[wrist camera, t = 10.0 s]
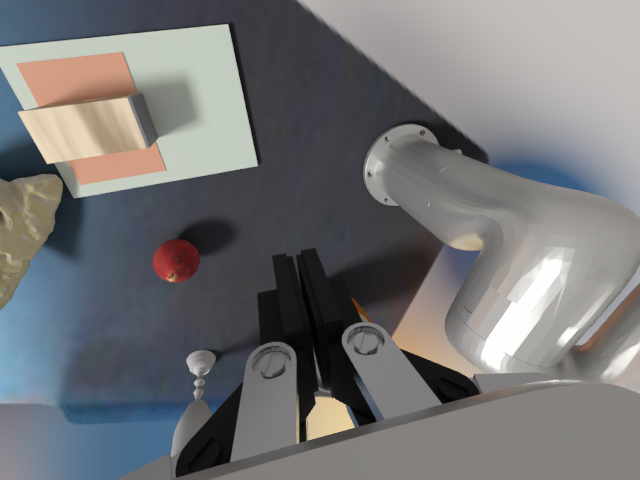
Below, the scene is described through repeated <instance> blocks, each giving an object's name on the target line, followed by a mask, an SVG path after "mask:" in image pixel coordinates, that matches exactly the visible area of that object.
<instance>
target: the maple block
mask: <svg viewBox="0 0 640 480" xmlns="http://www.w3.org/2000/svg"><path fill="white" fill-rule="evenodd" d="M18 114H19V116H20V117H21V119H22V121H23V123H24V124H25V126H26V128H27V130H28V131H29V133H30V135H31V137H32V138H33V140H34V142H35V144H36V145H37V147H38V149H39V151H40V152H41V154H42V156H43V158H44V159H45V161H46V163H47V164H50V163H56V162H63V161H69V160H75V159H82V158H88V157H94V156H101V155H107V154H113V153H119V152H126V151H132V150H138V149H145V148H150V147H151V146H152V145H153V144H154V142H155V141H156V140H157V139H158V135H157V133H156V130H155V127H154V124H153V122H152V119H151V116H150V113H149V111H148V108H147V105H146V102H145V100H144V97H143V94H142V93H137V94H129V95H122V96H114V97H106V98H99V99H91V100H83V101H76V102H68V103H60V104H53V105H45V106H40V107H36V108H32V109H28V110H24V111H20V112H18Z"/></svg>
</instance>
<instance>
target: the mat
mask: <svg viewBox="0 0 640 480" xmlns="http://www.w3.org/2000/svg"><path fill="white" fill-rule="evenodd" d="M0 67H1V69H2V71H3V73H4V74H5V76H6V78H7V80H8V82H9V83H10V85H11V87H12V89H13V91H14V92H15V94H16V96H17V98H18V99H19V101H20V103H21V105H22V107H23V108H24V110H28V109H32V108H36V107H40V106H45V105H53V104H60V103H68V102H76V101H83V100H91V99H99V98H106V97H114V96H122V95H129V94H137V93H142V94H143V97H144V100H145V102H146V105H147V108H148V111H149V113H150V116H151V119H152V122H153V124H154V127H155V130H156V133H157V135H158V139H157V140H156V141H155V142H154V144H153V145H152V146H151V147H150V148H145V149H138V150H132V151H126V152H119V153H113V154H107V155H101V156H94V157H88V158H82V159H75V160H69V161H63V162H56V163H54V164H55V166H56V167H57V169H58V171H59V173H60V175H61V176H62V178H63V180H64V182H65V184H66V185H67V187H68V189H69V191H70V192H71V194H72V196H73V198H80V197H85V196H91V195H97V194H102V193H108V192H113V191H119V190H125V189H130V188H136V187H142V186H147V185H153V184H159V183H164V182H170V181H176V180H181V179H187V178H193V177H198V176H204V175H209V174H215V173H221V172H226V171H232V170H238V169H243V168H249V167H255V166H258V163H257V159H256V154H255V149H254V144H253V140H252V135H251V130H250V125H249V121H248V116H247V111H246V106H245V102H244V97H243V92H242V87H241V83H240V78H239V73H238V68H237V64H236V59H235V54H234V49H233V45H232V40H231V35H230V30H229V26H228V24H224V25H214V26H204V27H194V28H184V29H174V30H164V31H154V32H144V33H134V34H124V35H114V36H104V37H94V38H84V39H74V40H64V41H54V42H45V43H35V44H25V45H15V46H5V47H0Z"/></svg>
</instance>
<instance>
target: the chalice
mask: <svg viewBox="0 0 640 480" xmlns="http://www.w3.org/2000/svg"><path fill="white" fill-rule="evenodd" d="M215 360H216V357H215V355H214V354H213V353H212V352H210V351H207V350H200V351H196V352H193V353H192V354H190V355H189V356H188V358H187V364H188V366H189V368H190V371H191V372H192V373H193V374H194V375H197V380H196V381H195V382H194V385H195V386H196V390H195V391H194V395H195V401H193V402H192V403H190V404H189V406H188V407H187V409H186V411H185V412H184V414H183V415H182V417H181V419H180V421H179V423H178V425H177V427H176V429H175V432H174V438H173V445H172V452H171V457H173V456H175V455H177V454H179V453H181V451H182V450H183V448H184V447H185V445H186V444H187V443H188V441H189V440H190V439H191V438H192V437H193V436H194V435H195V434H196V433H197V432H198V431H199V429H200V428H201V427H202V426H203V425H204V424H205V423H206V422H207V421H208V420H209V418H210V417H211V416H212V413H211V411H210V409H209V407H208V405H207V404H206V402H205V401H203V400H201V396H202V394H203V393H204V391H203V390H202V385H204V383H205V381H204V380H203V375H205V374H207V373H208V372H209V371H210V370H211V368H212V366H213V364H214V363H215Z"/></svg>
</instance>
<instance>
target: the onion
mask: <svg viewBox="0 0 640 480" xmlns="http://www.w3.org/2000/svg"><path fill="white" fill-rule="evenodd" d="M199 263H200V258H199V253H198V250H197V249H196V248H195V246H194V245H193V244H192V243H190V242H188V241H186V240H181V239H174V240H170V241H167V242H165V243H164V244H162V245H161V246H160V247H159V248H158V249H157V251H156V252H155V254H154V259H153V267H154V269H155V271H156V273H157V274H158V275H159V276H160V277H161V278H162V279H164V280H166V281H169V282H182V281H185V280H187V279H189V278H191V277H192V276H193V275H194V273H195V272H196V271H197V269H198V266H199Z"/></svg>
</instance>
